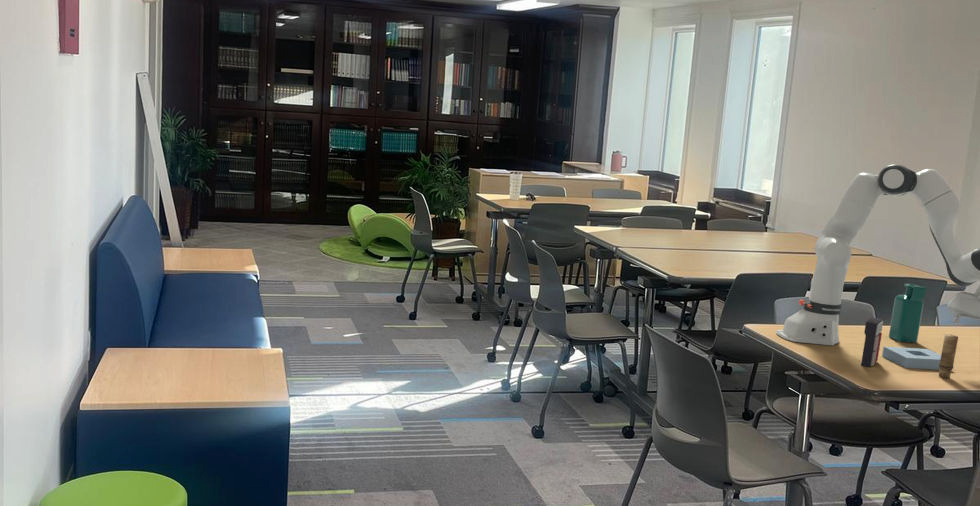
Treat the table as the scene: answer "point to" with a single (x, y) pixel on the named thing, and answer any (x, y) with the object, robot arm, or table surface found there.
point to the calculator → (872, 341)
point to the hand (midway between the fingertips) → (968, 327)
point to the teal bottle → (907, 314)
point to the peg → (947, 356)
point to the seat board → (913, 357)
